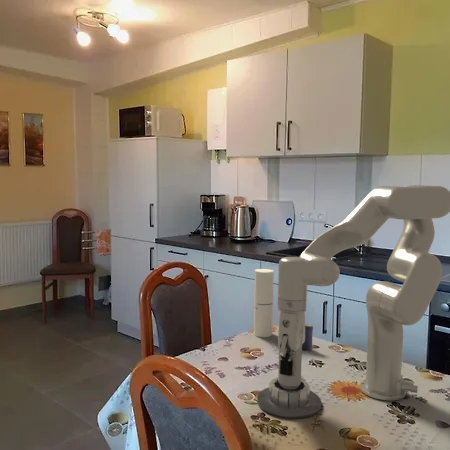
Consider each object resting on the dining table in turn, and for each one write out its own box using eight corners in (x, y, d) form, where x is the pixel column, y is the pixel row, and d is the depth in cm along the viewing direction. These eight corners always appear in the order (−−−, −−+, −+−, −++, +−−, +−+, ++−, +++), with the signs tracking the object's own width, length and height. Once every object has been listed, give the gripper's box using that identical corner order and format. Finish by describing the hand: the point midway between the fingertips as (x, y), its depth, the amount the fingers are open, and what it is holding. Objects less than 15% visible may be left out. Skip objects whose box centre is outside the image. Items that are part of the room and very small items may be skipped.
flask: (313, 349, 171) (314, 320, 169) (309, 352, 168) (310, 322, 167) (290, 343, 176) (291, 315, 175) (286, 346, 174) (287, 317, 173)
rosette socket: (327, 396, 134) (328, 378, 133) (312, 424, 118) (312, 404, 118) (269, 385, 141) (269, 367, 140) (247, 410, 125) (248, 391, 125)
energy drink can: (305, 385, 129) (307, 331, 127) (290, 392, 125) (292, 335, 123) (288, 378, 133) (289, 325, 132) (273, 384, 129) (274, 330, 128)
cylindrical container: (266, 338, 182) (268, 273, 179) (250, 335, 185) (251, 271, 183) (275, 333, 188) (276, 270, 185) (258, 330, 191) (260, 268, 189)
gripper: (296, 314, 118) (294, 385, 119) (314, 298, 133) (311, 361, 135) (267, 310, 121) (265, 379, 122) (287, 295, 136) (286, 357, 138)
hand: (289, 369), depth 129 cm, fingers closed on energy drink can, 6 cm apart
